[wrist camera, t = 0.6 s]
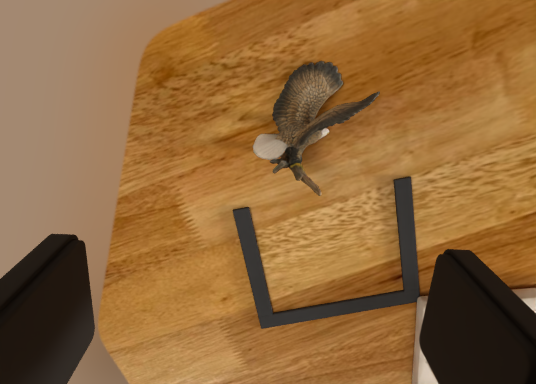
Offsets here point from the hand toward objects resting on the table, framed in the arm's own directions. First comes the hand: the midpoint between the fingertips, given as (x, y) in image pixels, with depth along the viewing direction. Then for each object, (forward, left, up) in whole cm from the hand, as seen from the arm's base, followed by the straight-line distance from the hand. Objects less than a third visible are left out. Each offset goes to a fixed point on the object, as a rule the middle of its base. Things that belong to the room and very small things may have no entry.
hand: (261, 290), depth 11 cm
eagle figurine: (0, +4, -25) cm, 26 cm away
